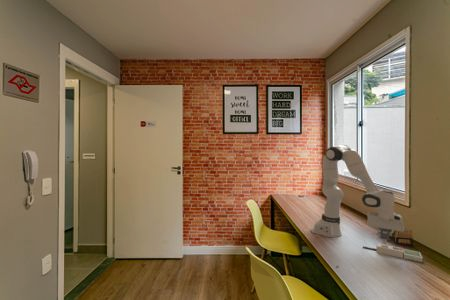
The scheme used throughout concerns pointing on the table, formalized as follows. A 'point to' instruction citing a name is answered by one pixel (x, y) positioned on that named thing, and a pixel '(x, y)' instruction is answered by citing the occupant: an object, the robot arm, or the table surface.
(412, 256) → the parts tray
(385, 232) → the block
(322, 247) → the table surface
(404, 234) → the ammunition clip
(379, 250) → the power strip
